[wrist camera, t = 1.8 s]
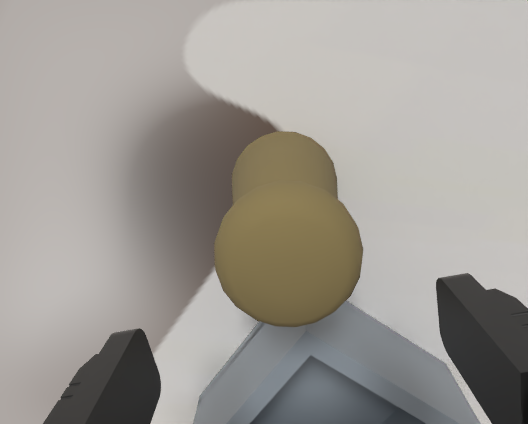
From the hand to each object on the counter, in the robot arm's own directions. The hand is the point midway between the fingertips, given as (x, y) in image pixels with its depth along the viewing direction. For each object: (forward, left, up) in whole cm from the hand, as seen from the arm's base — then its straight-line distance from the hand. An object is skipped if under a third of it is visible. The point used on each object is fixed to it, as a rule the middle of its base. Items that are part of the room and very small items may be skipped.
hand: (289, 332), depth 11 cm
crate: (+10, +10, -13) cm, 19 cm away
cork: (0, 0, -13) cm, 13 cm away
